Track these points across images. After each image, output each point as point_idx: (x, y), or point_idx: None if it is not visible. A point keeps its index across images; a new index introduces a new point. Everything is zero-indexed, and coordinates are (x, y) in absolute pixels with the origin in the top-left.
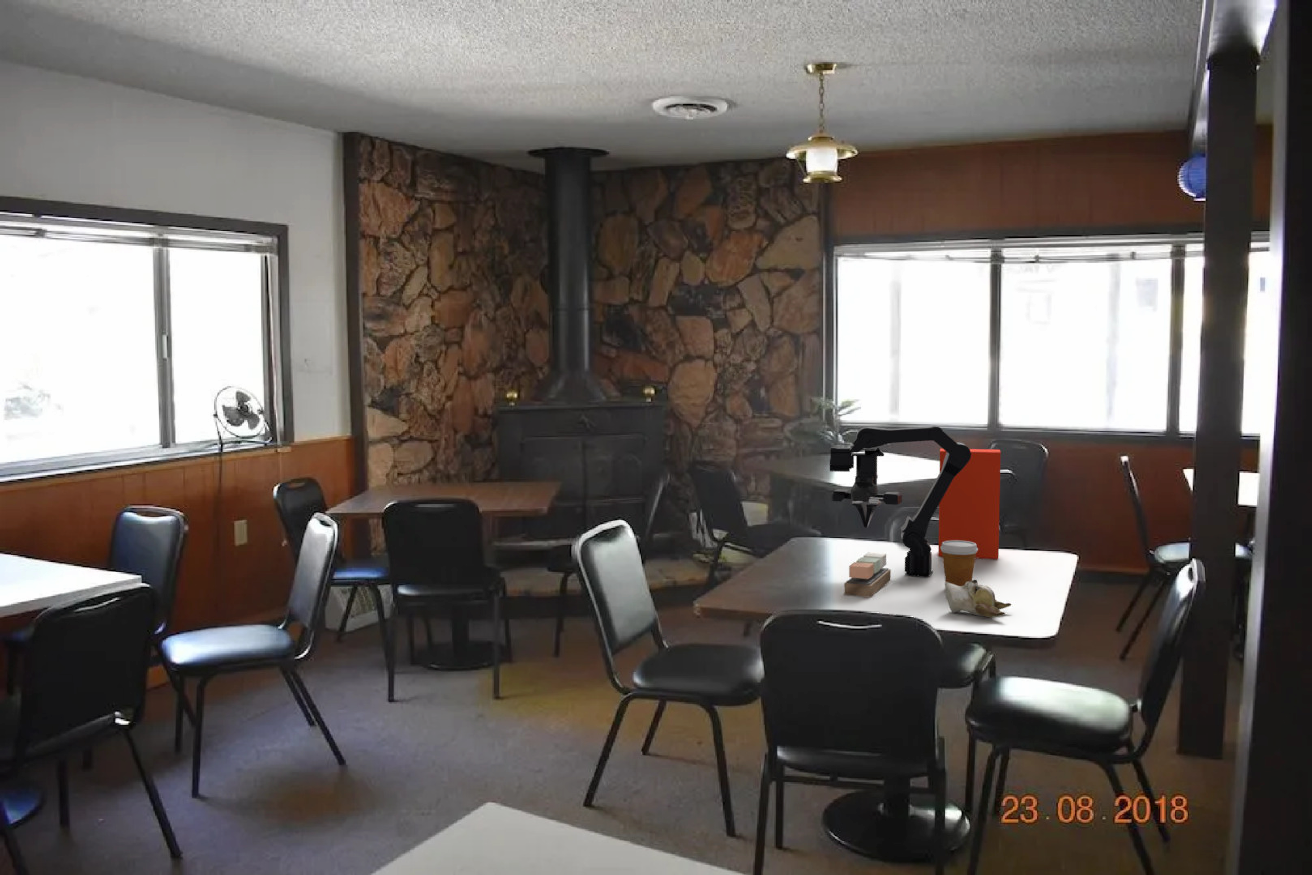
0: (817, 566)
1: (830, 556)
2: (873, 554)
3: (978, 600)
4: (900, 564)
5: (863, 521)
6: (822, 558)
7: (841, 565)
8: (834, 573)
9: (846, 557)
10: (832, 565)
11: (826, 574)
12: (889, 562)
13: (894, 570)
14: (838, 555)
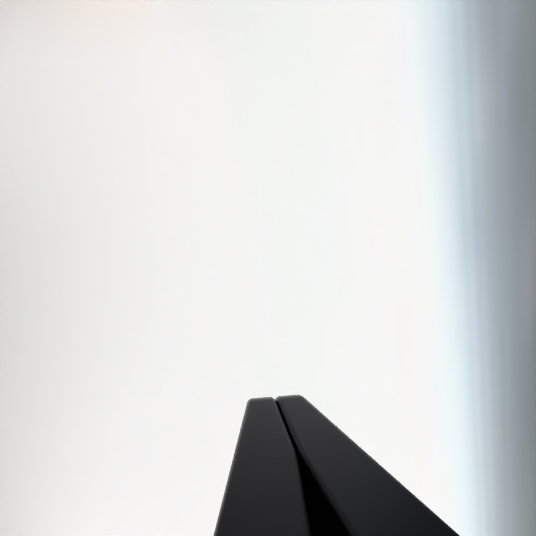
0: (527, 251)
1: (467, 484)
2: None
3: None
4: (79, 486)
5: (346, 458)
6: (503, 434)
7: (395, 331)
8: (414, 86)
9: None
10: (445, 311)
11: (466, 27)
12: (154, 499)
13: (49, 337)
14: None
